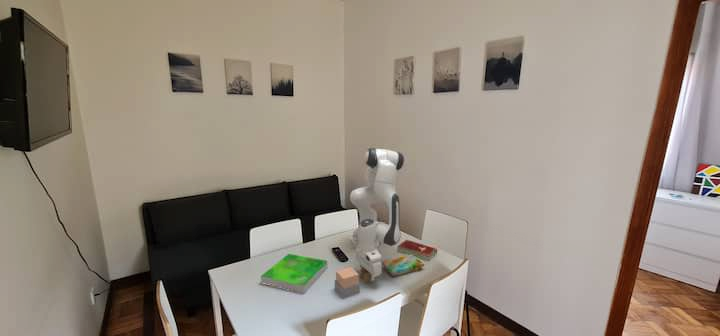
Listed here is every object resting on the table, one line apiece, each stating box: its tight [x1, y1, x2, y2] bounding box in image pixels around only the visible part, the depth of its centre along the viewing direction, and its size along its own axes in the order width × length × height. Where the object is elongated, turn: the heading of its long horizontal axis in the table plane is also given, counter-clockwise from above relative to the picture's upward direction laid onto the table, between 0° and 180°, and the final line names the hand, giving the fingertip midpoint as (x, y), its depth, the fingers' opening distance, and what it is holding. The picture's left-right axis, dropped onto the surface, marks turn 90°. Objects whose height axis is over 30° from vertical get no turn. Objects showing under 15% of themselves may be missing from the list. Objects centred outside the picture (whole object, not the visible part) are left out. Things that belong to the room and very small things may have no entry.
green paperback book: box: [260, 253, 329, 295], centre depth 156 cm, size 25×25×5 cm
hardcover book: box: [396, 239, 438, 262], centre depth 181 cm, size 12×21×4 cm, turn 51°
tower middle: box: [335, 266, 360, 289], centre depth 141 cm, size 8×8×5 cm
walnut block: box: [359, 268, 372, 284], centre depth 153 cm, size 6×6×5 cm
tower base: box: [334, 279, 361, 299], centre depth 143 cm, size 9×9×5 cm
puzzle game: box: [381, 254, 425, 277], centre depth 162 cm, size 12×5×20 cm
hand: (367, 275), depth 153 cm, fingers open, 8 cm apart
